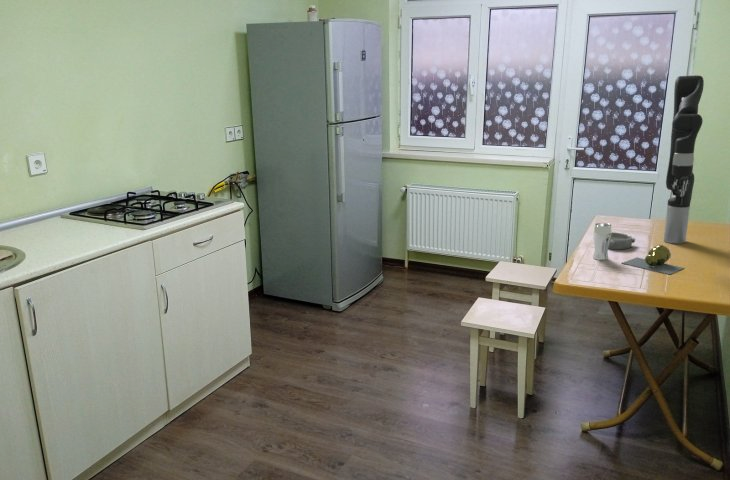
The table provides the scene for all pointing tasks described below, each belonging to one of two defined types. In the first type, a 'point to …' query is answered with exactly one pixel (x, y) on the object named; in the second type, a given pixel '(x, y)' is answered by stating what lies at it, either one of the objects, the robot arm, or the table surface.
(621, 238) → the dish
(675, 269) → the mat
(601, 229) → the beer glass
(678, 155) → the robot arm
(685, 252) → the table surface
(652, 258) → the brass door knob
